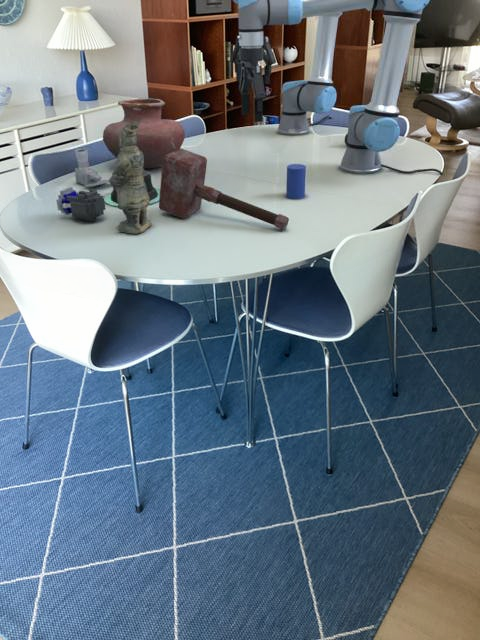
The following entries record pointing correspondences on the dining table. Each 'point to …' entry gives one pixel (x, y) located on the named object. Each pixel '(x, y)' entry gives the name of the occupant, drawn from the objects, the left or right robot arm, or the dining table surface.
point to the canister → (296, 181)
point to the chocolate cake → (152, 192)
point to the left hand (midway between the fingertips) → (252, 82)
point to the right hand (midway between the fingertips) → (251, 118)
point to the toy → (81, 204)
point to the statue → (131, 182)
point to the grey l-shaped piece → (86, 170)
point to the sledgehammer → (200, 190)
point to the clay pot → (146, 131)
